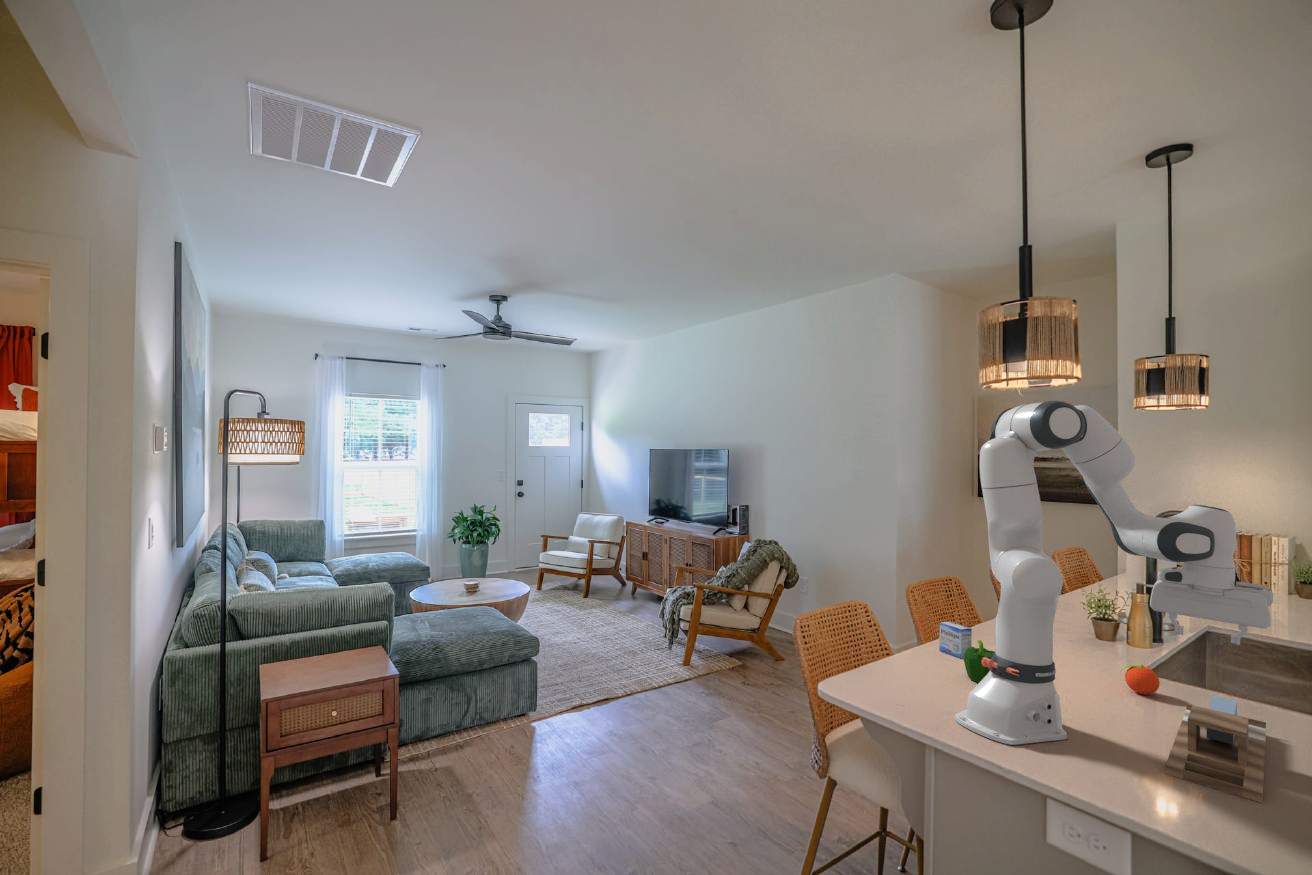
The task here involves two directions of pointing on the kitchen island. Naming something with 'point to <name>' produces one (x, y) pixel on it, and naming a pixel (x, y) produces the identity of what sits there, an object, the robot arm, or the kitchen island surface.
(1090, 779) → the kitchen island surface
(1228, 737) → the sled block
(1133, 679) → the tomato
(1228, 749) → the tunnel deck
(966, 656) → the bell pepper
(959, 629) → the medicine box
